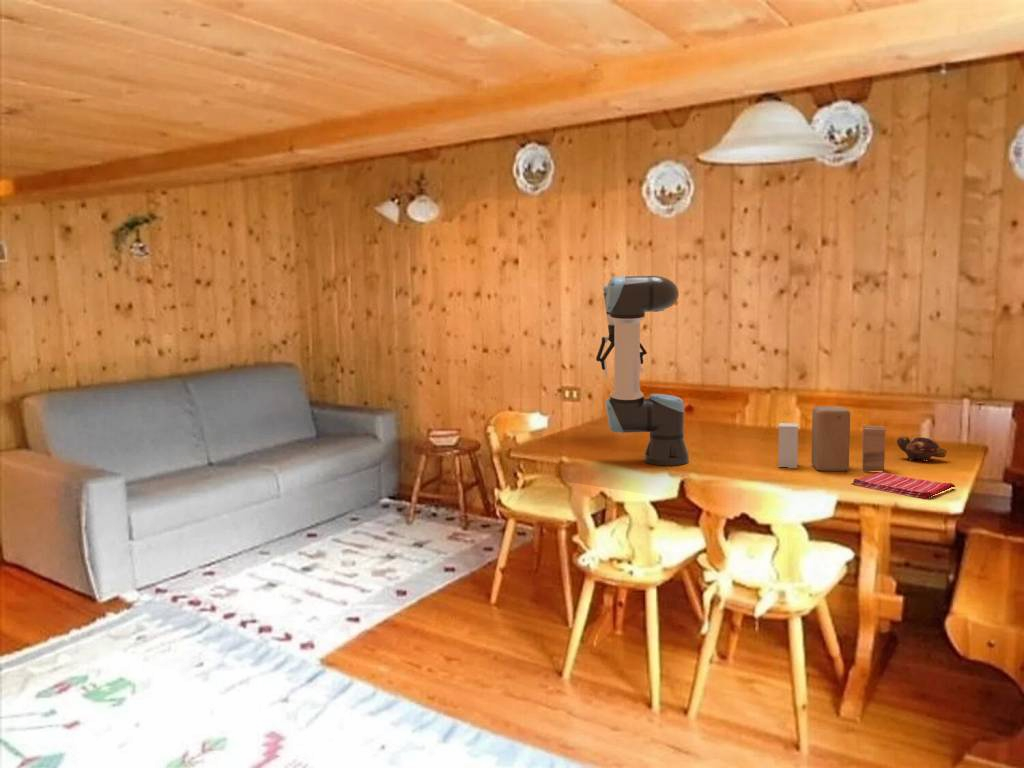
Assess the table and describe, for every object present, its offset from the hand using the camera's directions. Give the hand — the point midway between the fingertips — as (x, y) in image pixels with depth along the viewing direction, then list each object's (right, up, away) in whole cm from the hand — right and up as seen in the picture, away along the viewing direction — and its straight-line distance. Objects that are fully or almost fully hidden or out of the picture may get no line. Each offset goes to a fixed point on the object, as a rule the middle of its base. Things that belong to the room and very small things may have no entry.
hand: (623, 374), depth 327 cm
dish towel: (+71, -35, -85) cm, 117 cm away
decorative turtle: (+93, -30, -52) cm, 111 cm away
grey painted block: (+47, -31, -56) cm, 79 cm away
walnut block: (+72, -32, -64) cm, 102 cm away
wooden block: (+60, -32, -60) cm, 90 cm away
